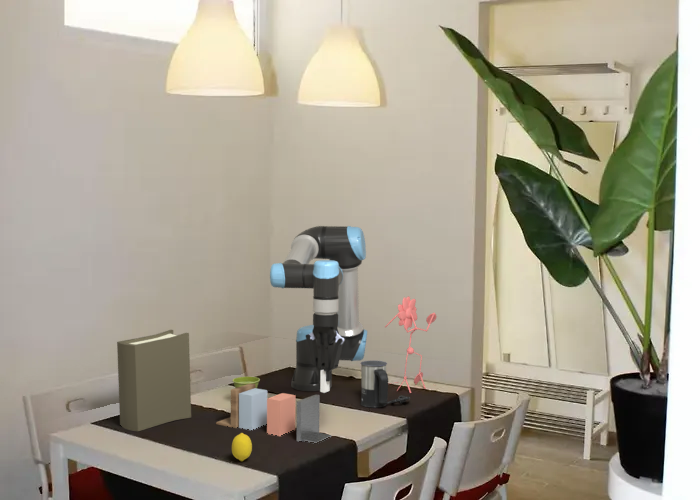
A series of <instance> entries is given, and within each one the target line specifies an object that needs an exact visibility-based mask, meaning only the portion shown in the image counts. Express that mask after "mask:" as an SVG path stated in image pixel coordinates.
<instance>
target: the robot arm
mask: <svg viewBox="0 0 700 500" xmlns="http://www.w3.org/2000/svg"><path fill="white" fill-rule="evenodd" d="M365 239H366V238H365V234H364V231H363V230H362V228H361V227H358V226H351V225H347V226H339V225H336V226H332V225H331V226H329V225H326V226H325V225H317V226H313V227H310V228H308V229H305V230H303V231H302V232H300V233H298V234H296V236H295V237H294V238H293V240H292V241H291V245H290V250H289V252H288V254H287V256H286V257H285V259H284V260H283V263H282V262H278V263H273V264H271V266H270V270H269V281H270V285H271V287H272V288H277V289H278V288H281V289H311V290H312V289H313V292H312V293H313V296H312V312H314V313H313V314H312V324H310V325H304V326H302V327H299V328H298V330H297V331H296V338H295V342H296V344H295V345H296V348H295V349H296V350H295V351H296V353H295V355H296V361H295V362H296V364H295V369H294V372H293V375H292V377H291V378H292V379H291V388H292V389H294V390H297V391H302V392H303V391H304V392H320V393H323V394H325V393H327V392H330V390H331V388H332V379H333V376H332V375H333V370H336V369H337V368H338V367H339V364H340V361H347V362H348V361H349V362H350V361H351V362H355V361H357V362H358V361H362V360H363V359H364V357H365V353H366V352H365V351H366V347H367V346H366V345H367V337H368V330H367V329H364V325H363V323H362V322H361V321H360V310H359V309H360V308H359V307H360V305H359V304H360V303H359V302H360V301H359V300H360V299H359V268H358V267H361V265H362V262H363V260H365V259H366V258H367V257H366V256H367V251H366V247H367V246H366V240H365ZM313 259H314V260H315V259H319V260H316V261H315V262H314V263H311V261H312V260H313Z"/></svg>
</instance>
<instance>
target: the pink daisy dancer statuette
mask: <svg viewBox="0 0 700 500" xmlns="http://www.w3.org/2000/svg"><path fill="white" fill-rule="evenodd" d="M416 303H417V300H416V299H415V298H411V296H406V297H405V296H404V297H403V299H402V303H399V304H398V305H397V309H398V312H397V314H396V315H395V316H394V317H393V318H392V319H391V320H389V322H388V323H387V324H386V325H385V326H384V328H387V327H388V325H390V324H391V323H392V322H393V321H394V320H395V319H396V318H399V320H398V326H400V327H401V326H403V327H404V331H405V332H406V333H410V335H409V344H408V348H407V349H406V356H405V357H406V359H405V367H404V377H403V381H402V382H401V383H400V385H399V386H398V388H397V390H396V392H398V391H399V390H400V388H401V386H402V385H403V384H404V382H405V384H406V387H407V388H408V391H409V394H411V393H412V391H411V388H410V386H409V383H408V380H407V378H408V376H407V375H406V372H407V363H408V358H409V357H408V356H409V355H413V354H416V355H418V356H419V357H420V364H419V370H418V371H419V373H417V374H416V376H415V377H414V379H413V383H414V384H415V385H418V383H420V382H421V383H422V386H423V389H426V388H427V387H426V385H425V382H424V380H423V376H424V373H423V372H421V369H422V368H421V367H422V359H423V355H422V354H419V353H417V352H416V351H415V349H414V348H413V347H412V346H411V343H412V335H413V333H415V332H416V331H417V330H420V331H422V332H428V331H429V329H430V326H431V324H432V323H434V322H435V321H436V319H437V317H438V316H437V314H436V312H432V313H430V314H429V315H428V316H427V317H426V323H427V324H428V325H427V327H426V329H424V328H420V327H417V324H416V321H418V314H417V309H418V308H417V307H416ZM413 325H414V328H412V327H413ZM409 328H411V329H409ZM408 329H409V330H408ZM397 383H399V381H397V382H394V384H397ZM390 384H392V382H390V383H389V385H390ZM434 386H435V387H436V386H437V385H436V384H434Z"/></svg>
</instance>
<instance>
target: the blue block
mask: <svg viewBox="0 0 700 500" xmlns="http://www.w3.org/2000/svg"><path fill="white" fill-rule="evenodd" d="M267 398H268V390H267V389H262V388H258V387H257V388H254V389H251V390H248V391H245V392H242V393H239V427H238V429H242V428H243V430H247V429H249V430H248V431H251V430H252V431H253V429H254V430H257V429H259V428H262V427H264V426H267V425H266V424H267ZM263 425H264V426H263ZM261 426H262V427H261ZM258 427H259V428H258ZM256 428H257V429H256Z"/></svg>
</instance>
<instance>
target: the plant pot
mask: <svg viewBox="0 0 700 500" xmlns="http://www.w3.org/2000/svg"><path fill="white" fill-rule="evenodd" d="M260 380H261V379H260V378H259V377H257V376H239V377H236V378H235V377H234V378H233V379H232V383H233V385H234V388H238V387H241V386H244V385H247V384H250V383H252V384H256V388H257V389H258V386H259V383H260Z"/></svg>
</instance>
